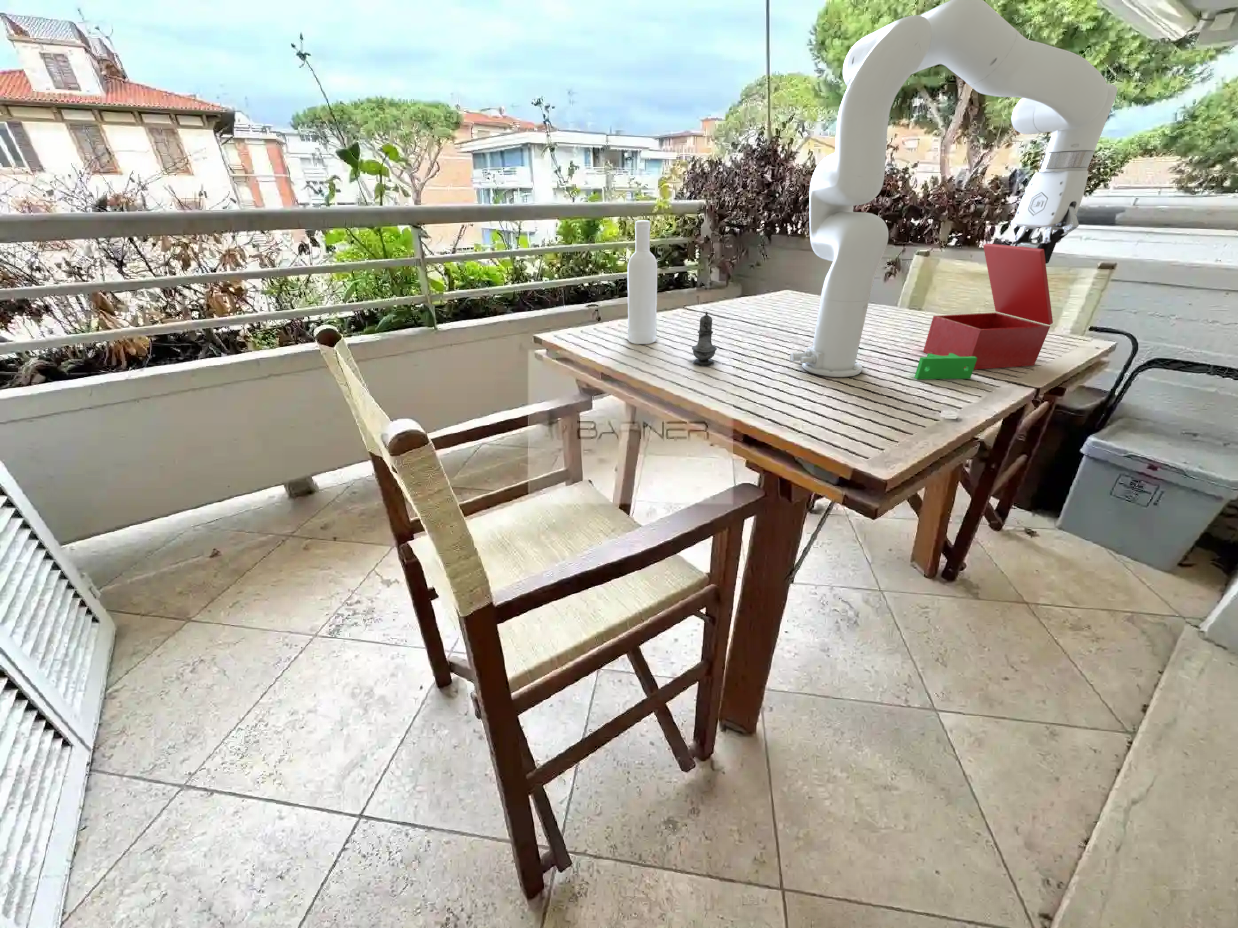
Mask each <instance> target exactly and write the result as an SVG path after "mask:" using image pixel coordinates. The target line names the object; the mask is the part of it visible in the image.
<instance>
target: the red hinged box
mask: <svg viewBox="0 0 1238 928" xmlns="http://www.w3.org/2000/svg"><path fill="white" fill-rule="evenodd" d="M1050 328H1051V325H1047V324H1043V323H1039V322H1036V321H1032V320H1028V319H1024V318H1020V317H1016V316H1012V315H1008V314H1004V313H1000V312H981V313H980V312H979V313H962V314H961V313H960V314H943V315H942V314H940V315H933V316H932V319H931V323H930V326H929V330H928V333H927V337H926V341H925V343H924V347H923V350H922V352H923V353H924V354H927V355H928V353H932V354H934V355H940V356H948V355H949V353H953V354H955V355H957V356H959V357H967V356H974V357H976V358H977V361H976V364H975V366H974V369H973V370H987V369H1002V368H1003V369H1005V368H1018V367H1031V366H1034V367H1035V365H1036V362H1037V360H1038V357H1039V355H1040V353H1041V350H1042V348H1043V345H1044V343H1045V341H1046V339H1047V336H1048V334H1049V331H1050ZM965 368H966V367H965ZM965 368H964V369H965Z"/></svg>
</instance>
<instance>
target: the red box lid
mask: <svg viewBox="0 0 1238 928" xmlns="http://www.w3.org/2000/svg"><path fill="white" fill-rule="evenodd" d="M1040 243H1041V242H1031V243H1030V242H1020V243H1019V244H1018V245H1017V246H1015V245H1009V244H1008V245H1007V244H998V243H988V242H987V243H984V244H983V245H982V246H983V252H984V257H985V262H986V268H987V273H988V279H989V284H990V290H991V295H992V298H993V306H994V310H995V313H1000V314H1004V315H1008V316H1012V317H1016V318H1020V319H1024V320H1027V321H1031V322H1035V323H1039V324H1043V325H1047V326H1051V325H1052V324H1053V323H1054V319H1053V311H1052V304H1051V295H1050V288H1049V281H1048V271H1047V264H1046V263H1045V254H1044V249H1038V247H1039V245H1040Z"/></svg>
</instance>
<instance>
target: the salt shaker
mask: <svg viewBox="0 0 1238 928" xmlns="http://www.w3.org/2000/svg"><path fill="white" fill-rule="evenodd" d="M713 333H714V331H713V317H712V316H710V315H709V313H708V311H705V314H704V315H703V316H701V317H700V319H699V330H698V331H697V334H698V341H697V344H696V345H695V344H694V345H693V346H692V347H691V350H692V353H693V356H694V357H695V359H694V360H692V362H691V363H692V365H694V366H699V367H710V366H714V365H715V361H714V360H713V359H712V358H713V357H714V356H715V354H716V351H717V350H718V348H717V346H715V345H713V343H712V335H713Z"/></svg>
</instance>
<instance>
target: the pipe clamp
mask: <svg viewBox="0 0 1238 928" xmlns="http://www.w3.org/2000/svg"><path fill="white" fill-rule="evenodd" d="M976 361H977V358H976V357H974V356H967V357H959V356H957V355H955V354H953V353H949V355H948V356H940V355H934V354H932V353H928V354H927V355H926V356H920V357H919V361H918V362H917V363H918V364H917V366H916V371H915V374H914V379H917V380H957V379H958V380H959V379H964V380H965V379H967V380H968V379H971V378H972V375H973V372H974V370H975V369H974V366H975V364H976ZM965 367H966V368H965ZM964 368H965V369H964Z"/></svg>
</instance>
